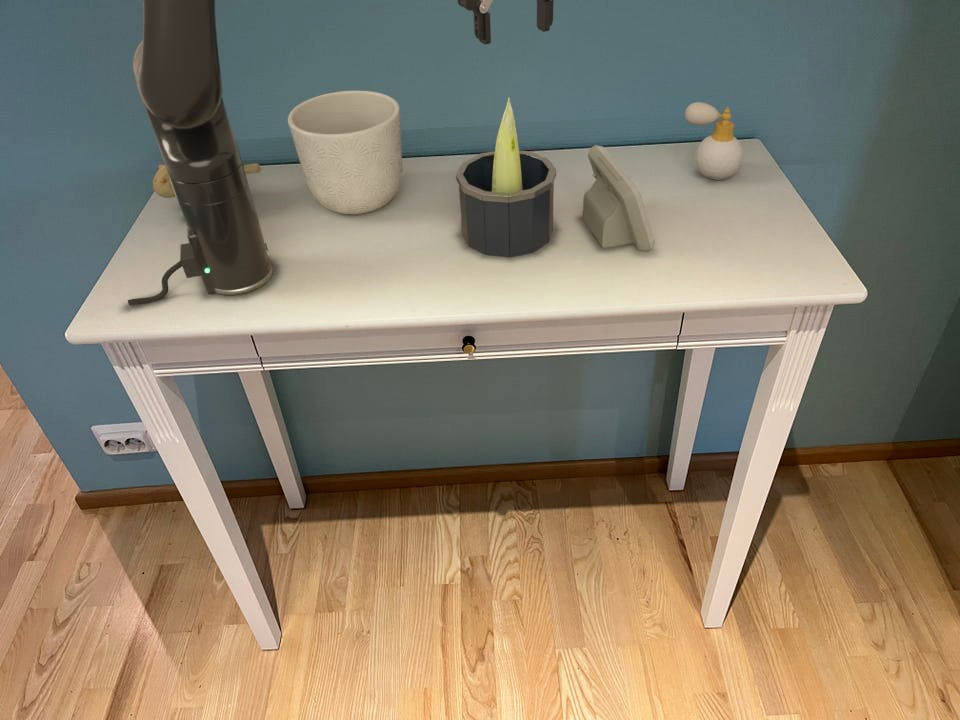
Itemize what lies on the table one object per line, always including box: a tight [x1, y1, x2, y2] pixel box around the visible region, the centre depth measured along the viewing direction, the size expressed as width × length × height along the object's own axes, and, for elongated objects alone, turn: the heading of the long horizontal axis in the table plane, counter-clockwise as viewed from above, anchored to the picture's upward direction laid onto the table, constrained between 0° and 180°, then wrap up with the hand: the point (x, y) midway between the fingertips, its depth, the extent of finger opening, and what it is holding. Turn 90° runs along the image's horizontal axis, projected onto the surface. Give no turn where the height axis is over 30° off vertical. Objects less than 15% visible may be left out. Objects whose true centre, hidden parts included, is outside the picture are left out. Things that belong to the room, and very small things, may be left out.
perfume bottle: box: [684, 101, 744, 181], centre depth 118 cm, size 8×10×12 cm
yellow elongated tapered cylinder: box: [492, 96, 522, 193], centre depth 105 cm, size 6×5×20 cm
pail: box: [455, 150, 557, 258], centre depth 109 cm, size 14×14×10 cm
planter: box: [287, 90, 403, 215], centre depth 116 cm, size 17×17×15 cm
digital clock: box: [581, 144, 655, 252], centre depth 108 cm, size 16×9×11 cm, turn 2°
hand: (514, 36), depth 94 cm, fingers open, 8 cm apart
